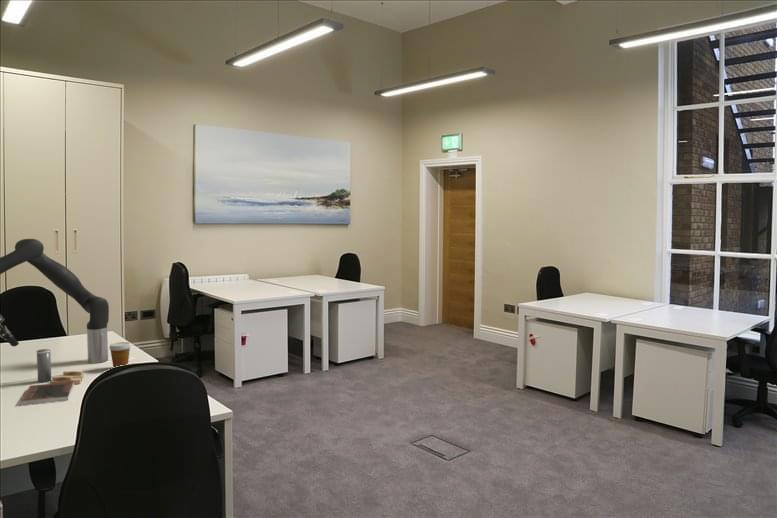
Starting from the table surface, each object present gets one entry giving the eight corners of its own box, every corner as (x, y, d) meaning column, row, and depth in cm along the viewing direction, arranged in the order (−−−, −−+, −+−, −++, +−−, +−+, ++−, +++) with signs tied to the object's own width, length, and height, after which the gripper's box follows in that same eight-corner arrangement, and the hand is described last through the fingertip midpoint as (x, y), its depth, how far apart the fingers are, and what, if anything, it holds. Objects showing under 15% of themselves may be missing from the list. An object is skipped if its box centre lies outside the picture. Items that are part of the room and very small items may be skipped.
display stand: (56, 379, 252) (56, 371, 252) (83, 377, 256) (83, 369, 256) (51, 387, 241) (50, 379, 241) (79, 384, 245) (79, 376, 245)
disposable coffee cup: (107, 371, 266) (107, 346, 265) (112, 366, 275) (111, 342, 274) (129, 370, 268) (128, 345, 267) (132, 365, 277) (132, 341, 276)
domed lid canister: (39, 379, 251) (37, 349, 250) (52, 378, 253) (51, 348, 252) (36, 383, 246) (35, 352, 245) (50, 382, 248) (49, 351, 247)
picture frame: (68, 401, 225) (74, 386, 244) (68, 395, 224) (73, 380, 244) (20, 407, 218) (30, 390, 237) (20, 400, 218) (29, 385, 237)
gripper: (-5, 310, 233) (23, 339, 237) (-1, 312, 246) (25, 339, 249) (-23, 322, 230) (6, 351, 233) (-18, 323, 242) (9, 350, 246)
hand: (16, 345), depth 241 cm, fingers open, 8 cm apart
